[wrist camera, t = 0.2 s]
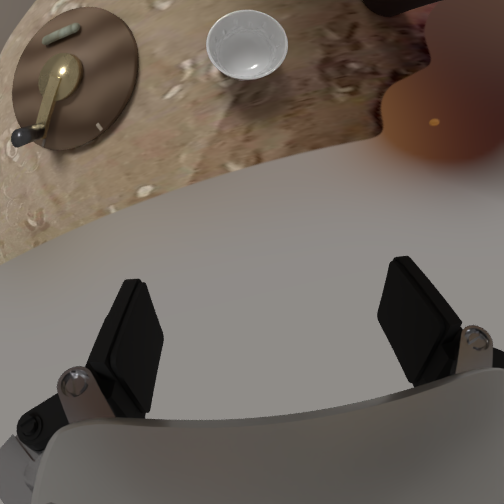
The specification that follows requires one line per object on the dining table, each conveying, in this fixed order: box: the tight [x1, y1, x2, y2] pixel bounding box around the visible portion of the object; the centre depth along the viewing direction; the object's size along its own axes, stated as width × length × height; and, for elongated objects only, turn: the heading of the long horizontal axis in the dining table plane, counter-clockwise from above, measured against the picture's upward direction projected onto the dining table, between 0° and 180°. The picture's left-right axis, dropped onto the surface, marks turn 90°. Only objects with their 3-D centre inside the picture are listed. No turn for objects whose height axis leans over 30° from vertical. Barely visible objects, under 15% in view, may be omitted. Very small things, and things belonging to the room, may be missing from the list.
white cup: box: [206, 10, 288, 81], centre depth 26 cm, size 8×8×10 cm
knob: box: [11, 53, 83, 147], centre depth 25 cm, size 13×7×7 cm, turn 152°
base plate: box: [12, 7, 138, 150], centre depth 27 cm, size 22×22×4 cm
